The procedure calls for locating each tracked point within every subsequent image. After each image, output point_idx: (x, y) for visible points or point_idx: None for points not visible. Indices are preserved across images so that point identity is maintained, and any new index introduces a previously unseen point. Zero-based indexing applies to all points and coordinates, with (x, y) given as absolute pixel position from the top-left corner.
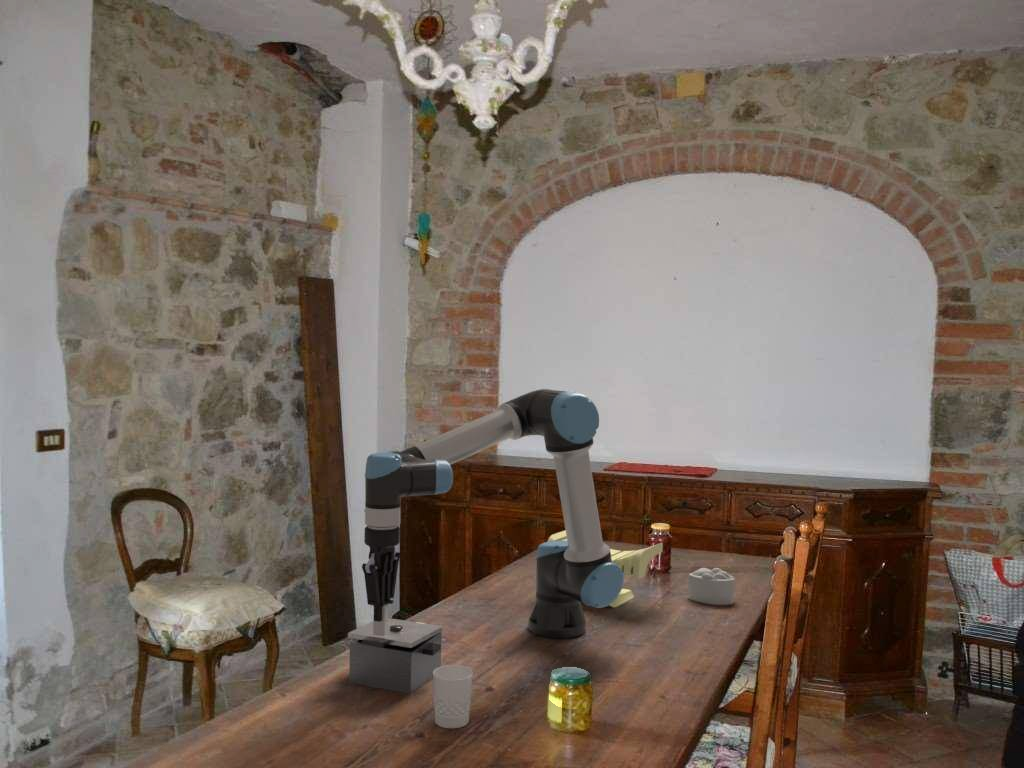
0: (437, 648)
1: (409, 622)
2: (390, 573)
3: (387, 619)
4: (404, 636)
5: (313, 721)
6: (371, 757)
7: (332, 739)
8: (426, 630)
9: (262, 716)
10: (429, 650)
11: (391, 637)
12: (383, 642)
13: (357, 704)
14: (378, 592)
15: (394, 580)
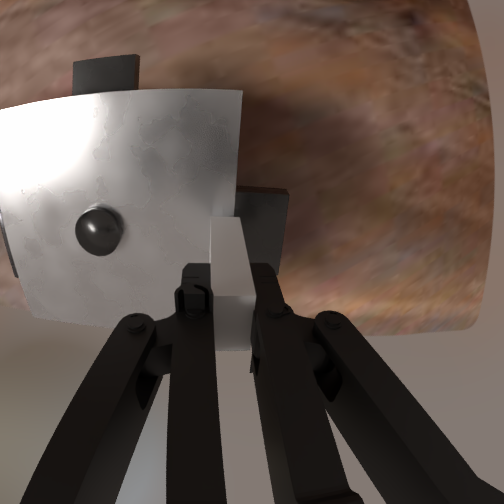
0: (100, 58)
1: (14, 230)
2: (173, 493)
3: (215, 248)
4: (162, 159)
5: (401, 224)
6: (484, 87)
7: (451, 165)
8: (48, 128)
9: (390, 300)
10: (135, 67)
11: (203, 198)
12: (283, 196)
13: (318, 182)
14: (369, 376)
15: (95, 409)
